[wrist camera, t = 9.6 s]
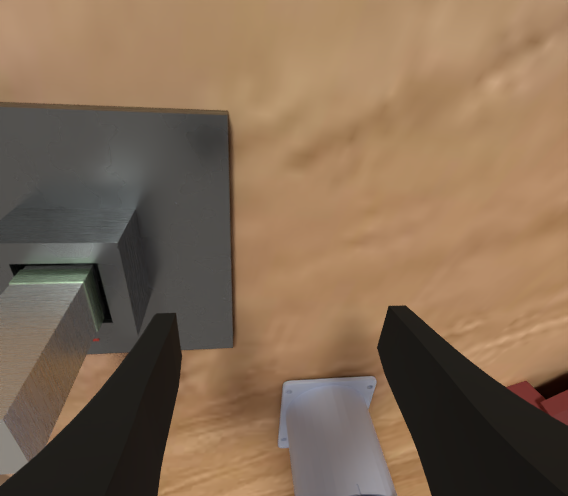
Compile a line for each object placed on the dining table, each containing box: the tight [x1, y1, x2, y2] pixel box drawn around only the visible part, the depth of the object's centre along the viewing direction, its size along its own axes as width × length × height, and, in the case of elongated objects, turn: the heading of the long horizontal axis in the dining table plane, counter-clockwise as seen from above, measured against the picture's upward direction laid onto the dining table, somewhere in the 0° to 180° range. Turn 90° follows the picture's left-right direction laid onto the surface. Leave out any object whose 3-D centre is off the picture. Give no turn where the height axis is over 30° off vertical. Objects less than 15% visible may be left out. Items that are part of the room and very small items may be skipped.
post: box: [0, 265, 106, 474], centre depth 15 cm, size 3×3×8 cm
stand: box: [0, 102, 233, 354], centre depth 19 cm, size 16×16×4 cm
